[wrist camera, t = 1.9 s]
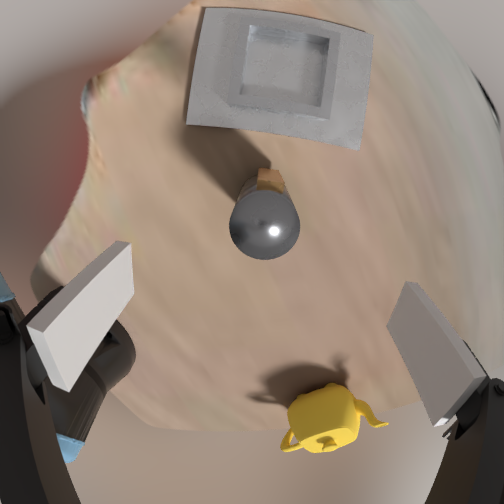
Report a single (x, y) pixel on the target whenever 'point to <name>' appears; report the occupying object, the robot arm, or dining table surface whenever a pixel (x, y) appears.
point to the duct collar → (281, 76)
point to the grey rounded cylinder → (264, 217)
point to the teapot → (326, 419)
